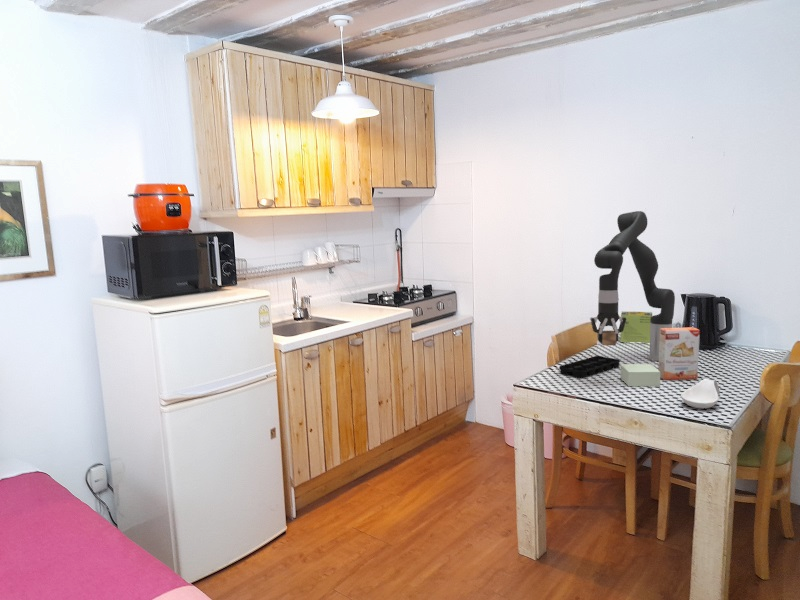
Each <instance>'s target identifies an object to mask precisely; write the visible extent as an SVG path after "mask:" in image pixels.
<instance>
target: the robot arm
mask: <svg viewBox="0 0 800 600" xmlns="http://www.w3.org/2000/svg"><path fill="white" fill-rule="evenodd" d="M616 222H617V227H618V230H619V233H617V234H616V235H614V236H613V237H612V238H611V240H610V242H609V243H608V244H607V245H604V247H602V248H601V249H599V250H598V251H597V253H596V254H595V255H594V256H595V257H594V260H593V262H594V265H595V267H597V268H598V269H601V270H604V269H606V270H607V269H608V270H609V269H610V273H606V274H603V275H599V278H598V294H597V296H598V298H597V299H598V309H597V311H598V313H597V316H595V317H589V320H590V325H591V327H592V328H591V329H592V331H593V332H594V333H597V341H598V342H599V343H600V344H601V343H602V331H604V330H605V327H612V331H614V332H615V333H616V344H617V342H618V341H619V334H621V332H623V330H624V326H625V322H626V318H625V317H621V315H619V287H618V286H619V277H620V272H621V269H622V266H623V263H624V256H623V255H624V254H625V252H626V251H627V249H628V251H629V253H630V255H631V259H632V260H633V264H634V266H635V270H636V271H637V273H638V276H639V278H640V281H641V284H642V288H643V292H644V296H645V300H646V302H647V305H648V306H649V307H651V308H655V309H660V313H658V314H656V315H655V314H654V315H652V317H651V318H650V344H649V354H648V355H649V360H651V361H655V362H659V342H660V328H673V319H674V315H675V304H676V303H675V302H676V301H675V300H676V296H675V295H676V294H675V292H674V290H672V289H669V288H661V287H659V288H658V287H657V285H656V282H655V279H656V278H655V277H656V275H657V272H658V270H659V261H658V260H657V256H656V253H655V252H654V251H653V250H652V249H651V247H649V246H647V244H645V243H643V242H642V241H641V240H640V239H638V237H640V235H641V234H642V233H644V232H645V230H646V229H647V227H648V217H647V215H646V213H645V212H644V211H642V210H639V211H636V210H635V211H631V212H625V213H621V214H619V215H618V216H617V221H616ZM618 320H619V327H618V326H617V322H618ZM597 322H599V325H598V329H597V324H596V323H597Z"/></svg>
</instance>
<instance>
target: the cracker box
mask: <svg viewBox="0 0 800 600" xmlns="http://www.w3.org/2000/svg"><path fill="white" fill-rule="evenodd" d="M700 331H701V330H700V329H698V328H696V327H691V326H689V327H672V328H660V342H659V361H658V367H657V370H659V371H660V379H662V380H664V381H665V380H666V381H667V380H671V381H672V380H698V374H699V358H700V357H699V352H700V337H701V336H700V334H701V332H700Z"/></svg>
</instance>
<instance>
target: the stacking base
mask: <svg viewBox="0 0 800 600" xmlns="http://www.w3.org/2000/svg"><path fill="white" fill-rule="evenodd" d="M620 380H621V381H622V382H623V381H624V382H625V383H626V384H627V385H628V386H658V387H660V386H661V377H660V371H659V370H658V368H656V367H655V366H654V365H653V364H651V363H635V364H634V363H631V364H629V363H628V364H626V363H625V364H620ZM624 382H623V383H624ZM625 383H624V384H625ZM626 384H625V385H626ZM627 385H626V386H627ZM658 387H657V388H658Z"/></svg>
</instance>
